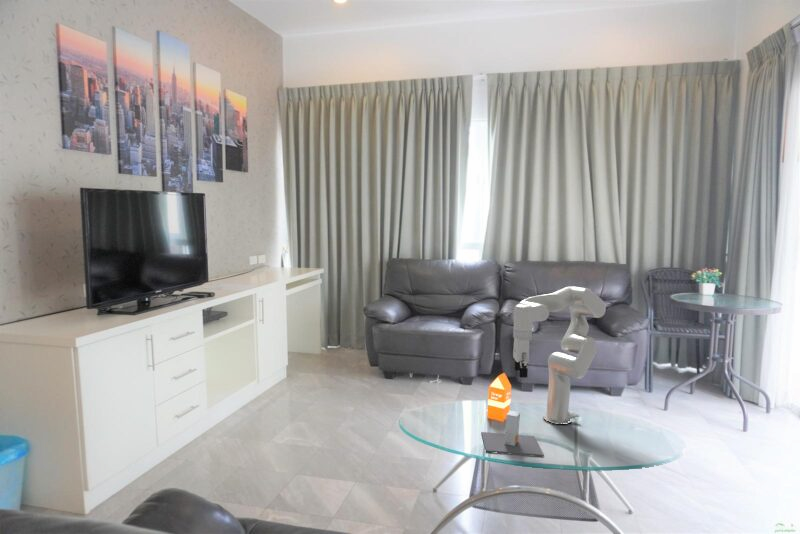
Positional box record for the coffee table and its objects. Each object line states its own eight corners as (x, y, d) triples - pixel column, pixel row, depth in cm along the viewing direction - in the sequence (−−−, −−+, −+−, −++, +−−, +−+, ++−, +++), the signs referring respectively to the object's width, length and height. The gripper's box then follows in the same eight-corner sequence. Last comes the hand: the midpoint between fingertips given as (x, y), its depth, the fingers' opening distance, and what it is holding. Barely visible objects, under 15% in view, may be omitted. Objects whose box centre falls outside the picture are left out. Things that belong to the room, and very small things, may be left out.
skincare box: (514, 446, 198) (516, 416, 197) (503, 443, 199) (506, 414, 199) (518, 441, 203) (520, 412, 202) (508, 438, 205) (510, 410, 204)
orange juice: (509, 416, 234) (512, 374, 232) (502, 421, 226) (505, 378, 225) (493, 412, 238) (496, 370, 236) (486, 417, 230) (489, 374, 229)
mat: (534, 437, 209) (534, 436, 209) (543, 456, 191) (544, 454, 191) (481, 433, 210) (481, 431, 210) (485, 452, 193) (486, 450, 192)
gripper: (509, 329, 220) (508, 367, 221) (517, 338, 202) (515, 379, 204) (526, 329, 219) (525, 367, 221) (536, 339, 202) (534, 380, 204)
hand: (520, 373), depth 213 cm, fingers open, 9 cm apart
